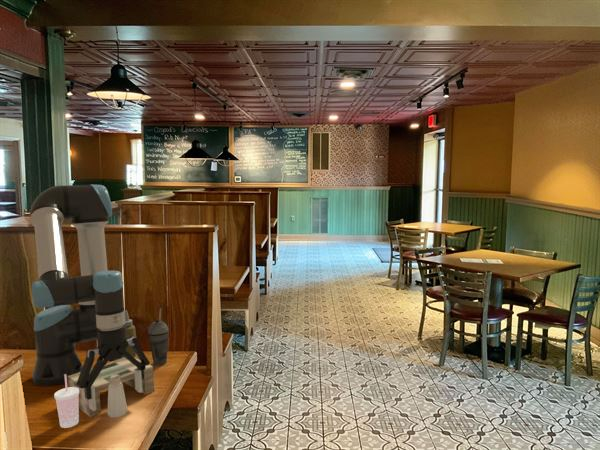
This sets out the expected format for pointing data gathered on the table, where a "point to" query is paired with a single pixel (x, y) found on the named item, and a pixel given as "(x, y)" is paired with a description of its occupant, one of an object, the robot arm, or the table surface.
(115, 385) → the pepper shaker
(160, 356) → the beverage cup
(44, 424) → the table surface
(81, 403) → the cut-out shelf
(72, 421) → the beverage cup
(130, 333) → the squeeze bottle
